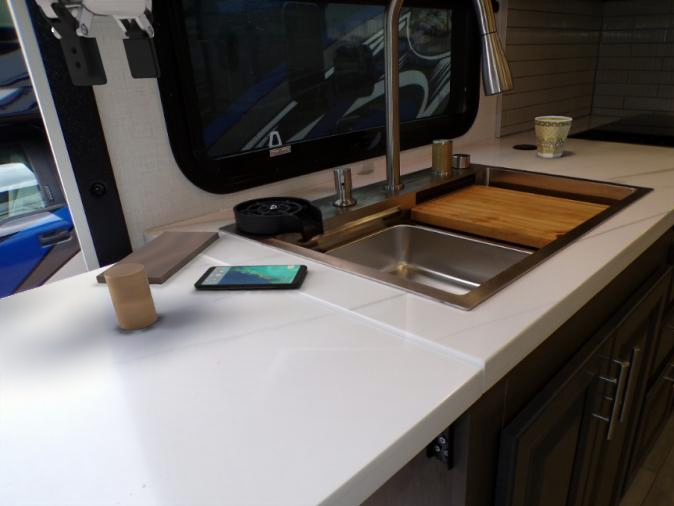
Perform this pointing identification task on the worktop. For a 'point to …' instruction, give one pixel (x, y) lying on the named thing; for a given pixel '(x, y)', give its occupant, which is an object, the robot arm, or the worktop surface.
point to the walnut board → (167, 254)
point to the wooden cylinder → (131, 296)
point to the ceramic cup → (551, 135)
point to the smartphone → (252, 277)
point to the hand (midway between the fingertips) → (121, 81)
